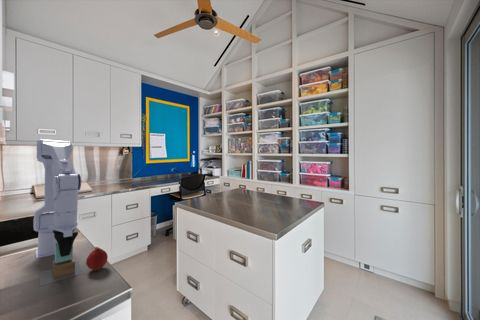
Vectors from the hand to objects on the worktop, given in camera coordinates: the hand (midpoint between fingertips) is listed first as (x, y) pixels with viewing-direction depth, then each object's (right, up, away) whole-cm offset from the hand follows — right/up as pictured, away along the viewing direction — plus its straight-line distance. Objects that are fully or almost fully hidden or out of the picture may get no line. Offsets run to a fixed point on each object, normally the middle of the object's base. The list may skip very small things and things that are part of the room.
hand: (64, 253), depth 66 cm
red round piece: (+9, -7, +2) cm, 12 cm away
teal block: (0, -2, 0) cm, 2 cm away
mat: (-1, -7, 0) cm, 7 cm away
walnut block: (0, -6, 0) cm, 6 cm away
